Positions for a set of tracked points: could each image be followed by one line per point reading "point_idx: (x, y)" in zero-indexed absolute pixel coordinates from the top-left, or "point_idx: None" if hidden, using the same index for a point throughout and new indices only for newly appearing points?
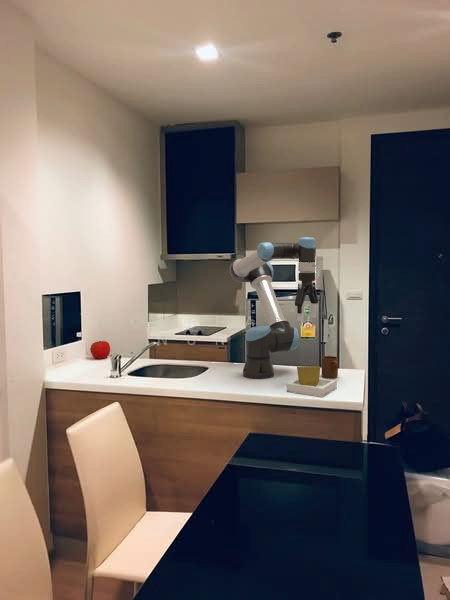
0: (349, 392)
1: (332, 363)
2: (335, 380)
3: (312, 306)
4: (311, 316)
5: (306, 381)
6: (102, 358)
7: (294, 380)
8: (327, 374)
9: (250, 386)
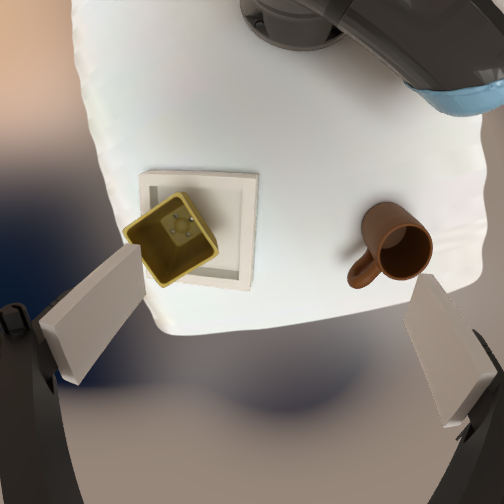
0: (231, 312)
1: (370, 264)
2: (248, 287)
3: (450, 377)
4: (416, 296)
5: (151, 233)
6: None
7: (184, 177)
8: (363, 231)
9: (151, 54)
